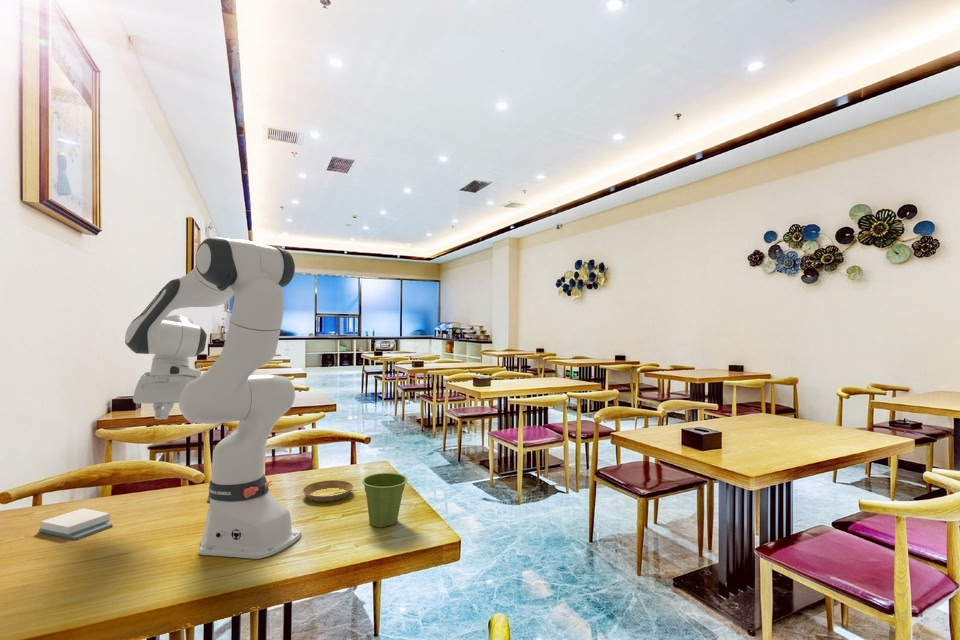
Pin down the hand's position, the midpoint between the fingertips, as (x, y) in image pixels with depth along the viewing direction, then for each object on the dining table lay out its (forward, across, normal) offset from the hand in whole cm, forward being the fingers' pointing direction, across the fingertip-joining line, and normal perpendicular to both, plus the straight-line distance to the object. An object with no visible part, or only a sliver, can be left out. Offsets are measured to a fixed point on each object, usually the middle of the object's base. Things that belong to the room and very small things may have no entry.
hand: (160, 419), depth 127 cm
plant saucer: (+23, +38, +28) cm, 53 cm away
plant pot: (+27, +64, +15) cm, 71 cm away
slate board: (+27, -6, -13) cm, 30 cm away
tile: (+24, -6, -8) cm, 26 cm away
